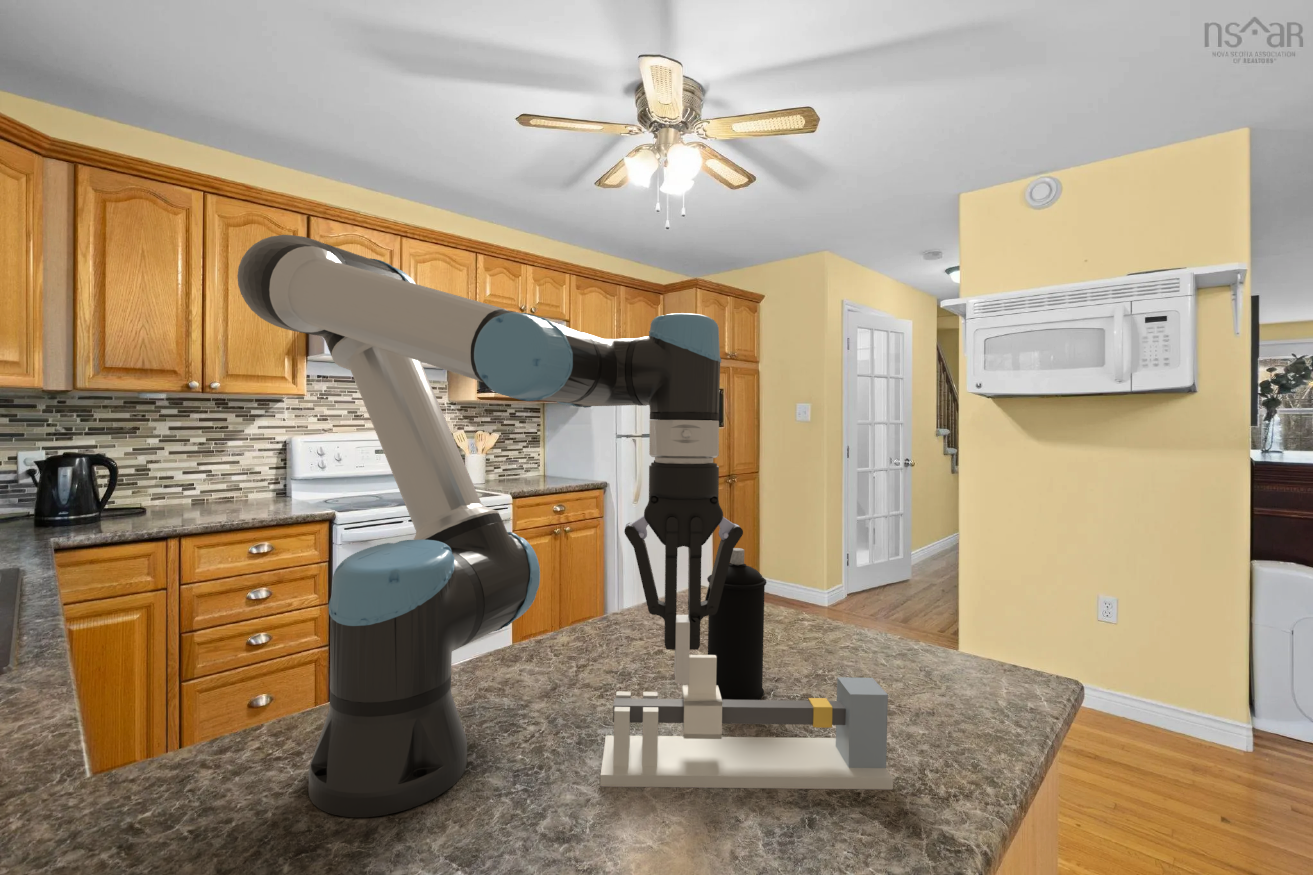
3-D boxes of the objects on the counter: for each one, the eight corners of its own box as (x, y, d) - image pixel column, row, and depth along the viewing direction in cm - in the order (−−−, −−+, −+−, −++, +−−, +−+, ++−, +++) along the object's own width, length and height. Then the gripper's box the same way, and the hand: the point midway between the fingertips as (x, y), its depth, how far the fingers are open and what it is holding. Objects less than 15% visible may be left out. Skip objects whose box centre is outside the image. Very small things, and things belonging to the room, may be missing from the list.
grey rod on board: (600, 786, 62) (602, 698, 62) (605, 745, 70) (607, 667, 70) (892, 789, 63) (894, 702, 62) (864, 748, 71) (866, 671, 70)
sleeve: (683, 738, 64) (685, 662, 64) (681, 720, 68) (682, 649, 68) (721, 738, 64) (723, 663, 64) (717, 720, 68) (718, 649, 68)
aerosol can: (763, 707, 80) (766, 556, 80) (701, 701, 82) (704, 553, 82) (764, 682, 89) (767, 545, 88) (708, 677, 90) (711, 542, 90)
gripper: (621, 461, 62) (619, 692, 62) (749, 462, 62) (747, 693, 62) (625, 458, 69) (623, 664, 70) (739, 459, 69) (736, 665, 70)
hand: (681, 678), depth 66 cm, fingers closed
